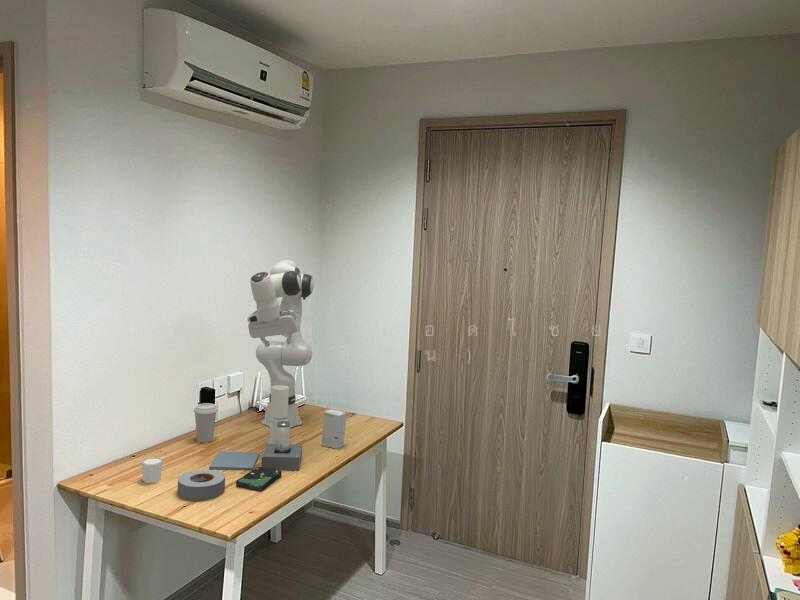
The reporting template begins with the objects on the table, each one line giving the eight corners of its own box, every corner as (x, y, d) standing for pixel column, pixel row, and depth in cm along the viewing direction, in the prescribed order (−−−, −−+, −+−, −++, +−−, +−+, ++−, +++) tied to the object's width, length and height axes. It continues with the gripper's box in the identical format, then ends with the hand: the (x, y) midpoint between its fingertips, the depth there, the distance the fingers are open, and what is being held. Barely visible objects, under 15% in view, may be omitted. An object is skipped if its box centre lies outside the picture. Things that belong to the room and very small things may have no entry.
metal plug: (276, 460, 234) (277, 420, 233) (289, 460, 235) (290, 421, 233) (274, 465, 229) (276, 424, 228) (288, 465, 230) (289, 425, 228)
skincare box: (321, 445, 254) (322, 411, 252) (328, 441, 259) (330, 408, 258) (337, 449, 250) (339, 415, 248) (345, 445, 255) (346, 411, 254)
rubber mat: (218, 453, 238) (218, 451, 238) (259, 454, 239) (259, 452, 239) (209, 469, 222) (209, 466, 222) (252, 470, 223) (252, 467, 223)
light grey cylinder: (146, 475, 213) (147, 457, 213) (165, 477, 213) (166, 458, 212) (137, 483, 206) (138, 464, 206) (157, 485, 206) (157, 465, 206)
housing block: (266, 455, 239) (267, 443, 238) (301, 456, 240) (302, 444, 239) (261, 469, 225) (261, 456, 224) (298, 470, 226) (299, 457, 225)
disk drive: (256, 473, 222) (235, 488, 208) (256, 466, 222) (235, 480, 208) (281, 477, 220) (262, 493, 205) (282, 470, 219) (262, 485, 205)
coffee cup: (216, 436, 258) (217, 402, 257) (217, 443, 249) (217, 408, 248) (193, 437, 255) (193, 403, 254) (192, 445, 246) (193, 409, 245)
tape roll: (199, 479, 213) (199, 465, 213) (234, 488, 208) (234, 474, 207) (167, 495, 199) (167, 480, 199) (203, 505, 193) (204, 490, 193)
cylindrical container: (282, 449, 246) (284, 390, 244) (266, 447, 248) (268, 388, 245) (289, 444, 253) (291, 386, 251) (273, 442, 255) (275, 384, 252)
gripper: (296, 306, 238) (305, 338, 242) (249, 313, 242) (258, 344, 246) (291, 312, 232) (300, 344, 236) (243, 319, 236) (252, 350, 240)
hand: (278, 344), depth 241 cm, fingers open, 8 cm apart
